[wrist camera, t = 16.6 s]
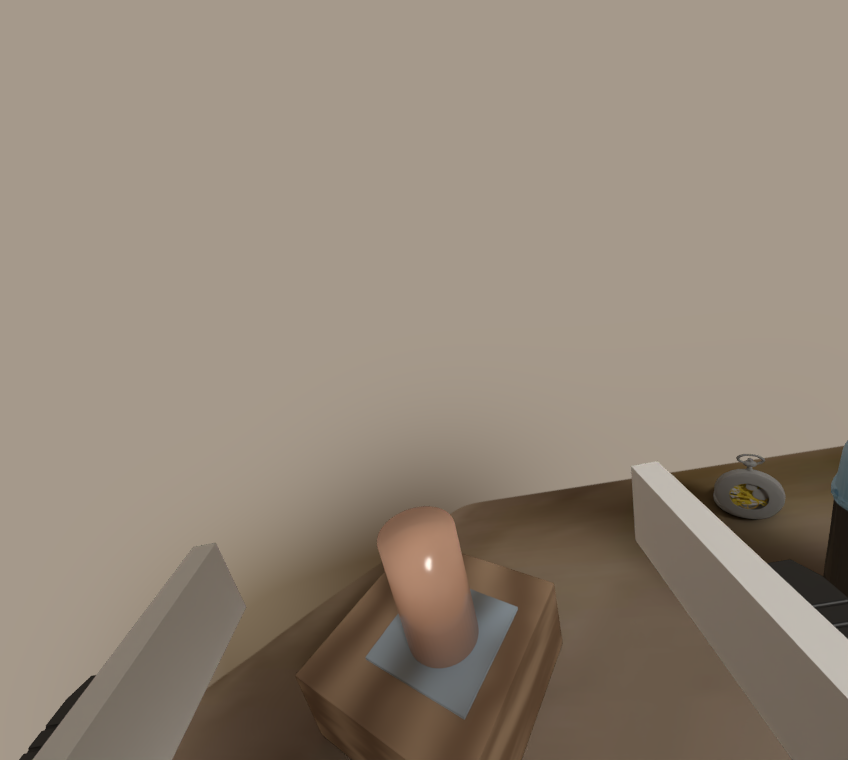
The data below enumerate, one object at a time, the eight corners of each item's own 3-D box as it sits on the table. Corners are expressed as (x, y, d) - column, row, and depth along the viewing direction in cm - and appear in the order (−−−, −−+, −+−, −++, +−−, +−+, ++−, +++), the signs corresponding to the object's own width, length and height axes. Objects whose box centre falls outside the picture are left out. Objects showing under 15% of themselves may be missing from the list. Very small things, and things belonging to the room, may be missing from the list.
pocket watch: (750, 485, 55) (753, 421, 52) (806, 526, 48) (814, 453, 44) (690, 496, 56) (690, 433, 53) (735, 539, 48) (739, 467, 45)
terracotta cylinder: (491, 615, 36) (469, 515, 33) (455, 682, 31) (425, 573, 28) (432, 592, 40) (407, 500, 36) (393, 648, 35) (360, 548, 32)
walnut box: (562, 643, 41) (553, 580, 38) (482, 870, 27) (460, 798, 25) (427, 587, 51) (413, 535, 48) (321, 734, 38) (293, 673, 35)
